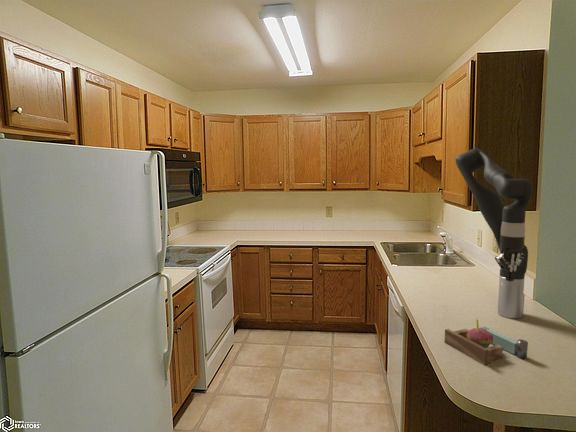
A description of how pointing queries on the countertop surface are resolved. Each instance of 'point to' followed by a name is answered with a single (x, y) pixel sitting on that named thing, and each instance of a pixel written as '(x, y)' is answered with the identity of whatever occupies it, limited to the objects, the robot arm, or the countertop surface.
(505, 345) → the bar
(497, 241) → the robot arm
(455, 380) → the countertop surface
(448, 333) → the wooden u-shaped bracket
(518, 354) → the post
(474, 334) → the cupcake
